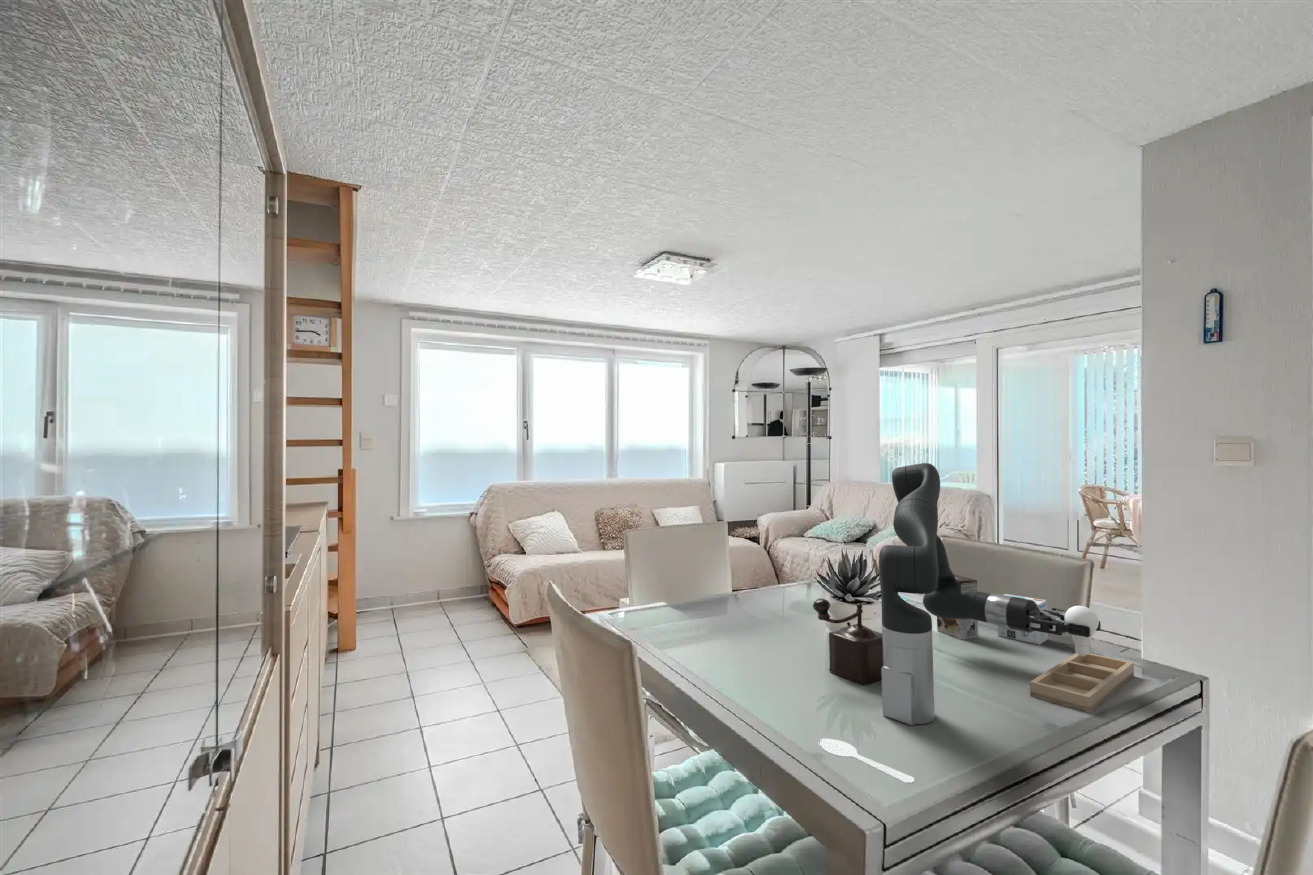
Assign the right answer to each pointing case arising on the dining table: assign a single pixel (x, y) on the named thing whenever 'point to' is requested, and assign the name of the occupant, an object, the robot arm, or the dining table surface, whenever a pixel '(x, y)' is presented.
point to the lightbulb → (1082, 617)
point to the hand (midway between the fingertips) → (1094, 628)
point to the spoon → (860, 757)
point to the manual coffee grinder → (853, 647)
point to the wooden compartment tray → (1082, 681)
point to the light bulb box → (1031, 637)
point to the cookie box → (960, 626)
